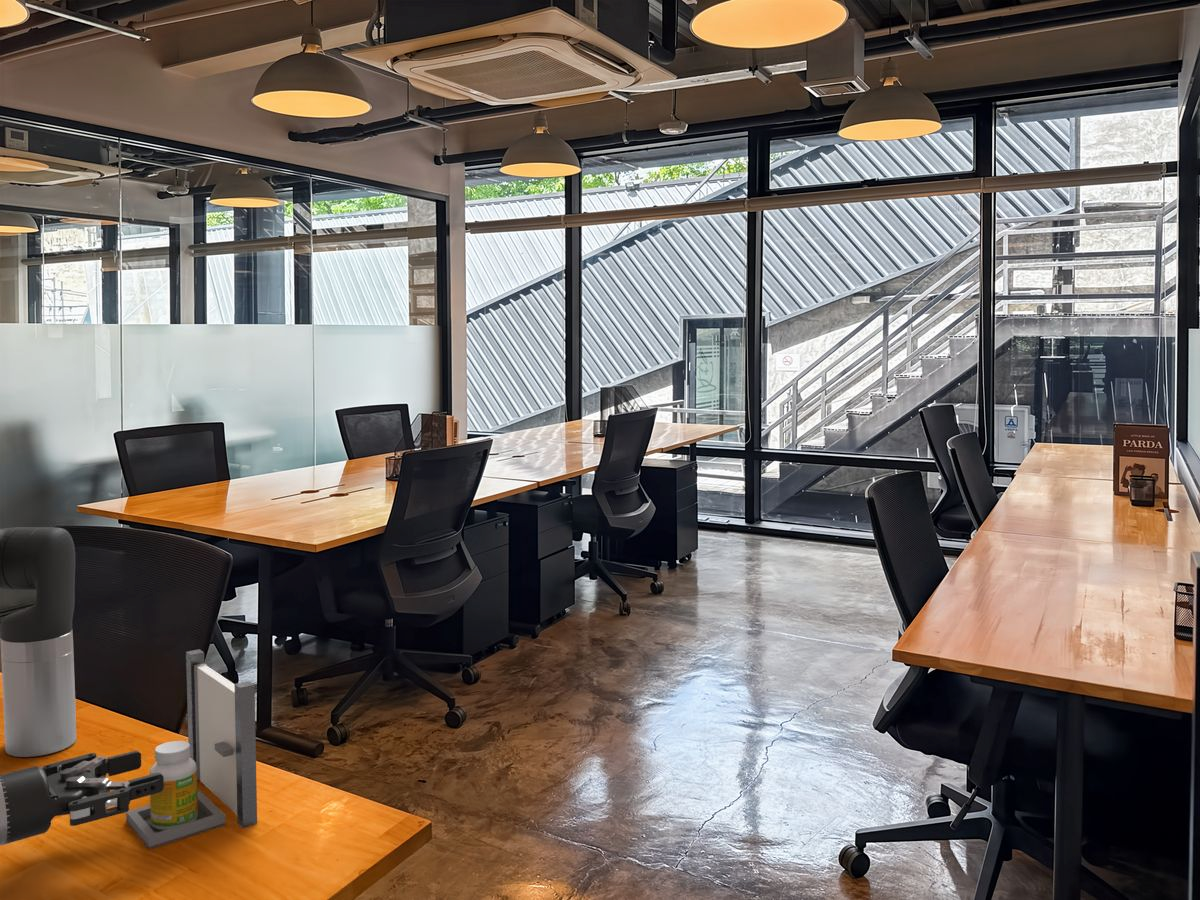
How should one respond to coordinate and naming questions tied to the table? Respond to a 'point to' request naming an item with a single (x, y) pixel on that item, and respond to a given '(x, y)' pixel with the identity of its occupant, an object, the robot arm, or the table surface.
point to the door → (216, 734)
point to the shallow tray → (153, 838)
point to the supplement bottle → (174, 786)
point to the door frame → (243, 739)
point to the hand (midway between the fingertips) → (151, 769)
